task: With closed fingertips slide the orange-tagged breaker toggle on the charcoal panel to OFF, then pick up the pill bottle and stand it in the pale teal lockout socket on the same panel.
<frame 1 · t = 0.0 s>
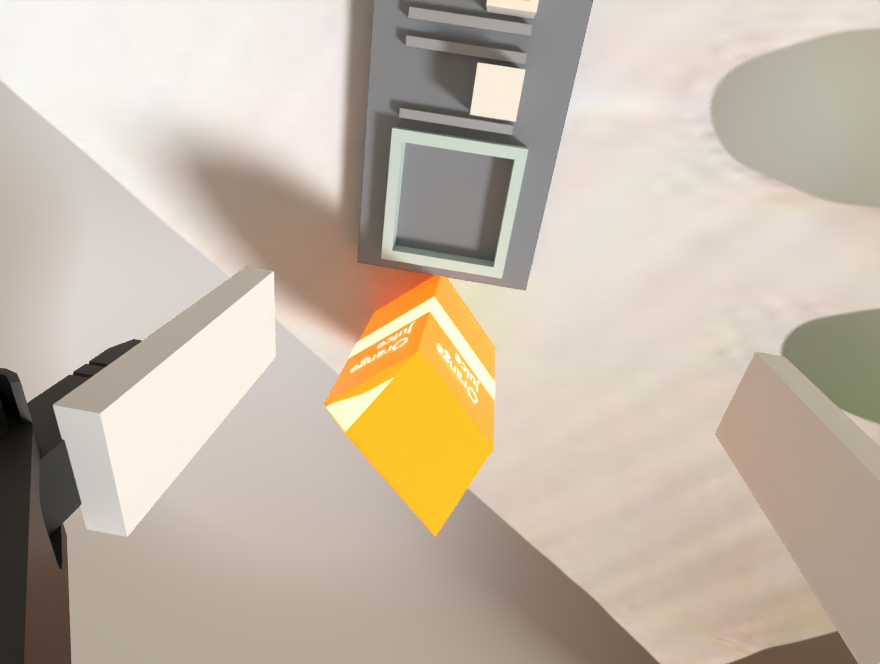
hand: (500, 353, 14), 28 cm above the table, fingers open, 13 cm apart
toggle plain: (497, 92, 33), point 4 cm above the table, slide at 0.0 cm
orange juice: (434, 328, 45), on the table
panel: (465, 117, 37), on the table
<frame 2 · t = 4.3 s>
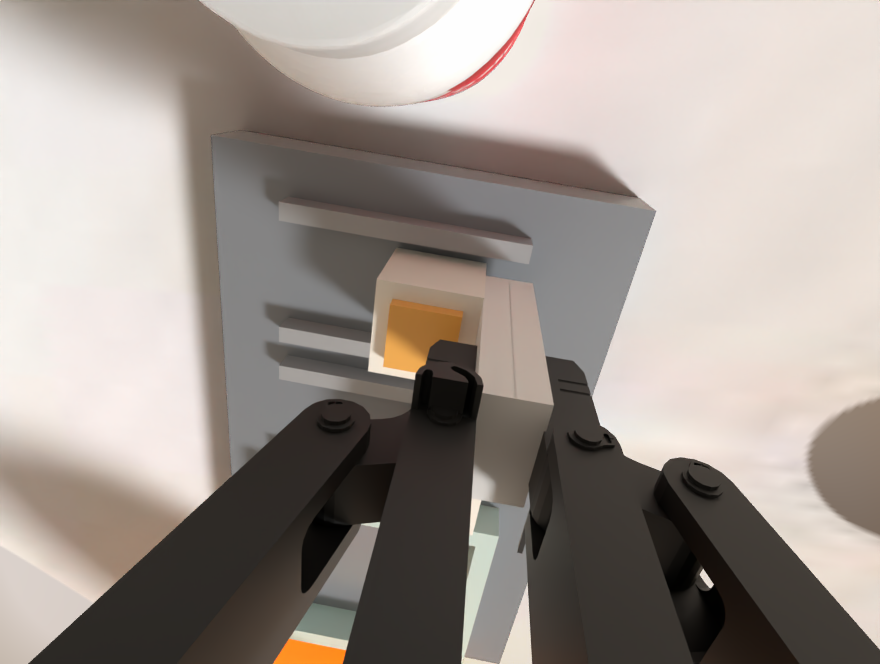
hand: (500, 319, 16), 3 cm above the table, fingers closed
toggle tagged: (428, 317, 15), point 4 cm above the table, slide at 1.3 cm, touching gripper
toggle plain: (441, 466, 18), point 4 cm above the table, slide at 0.0 cm
orange juice: (369, 659, 31), on the table
panel: (399, 436, 22), on the table
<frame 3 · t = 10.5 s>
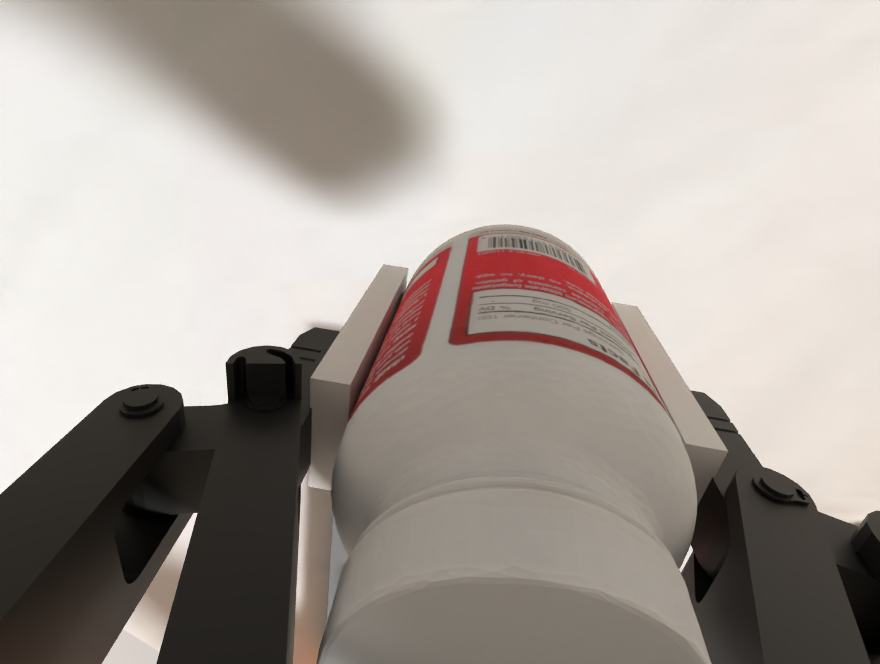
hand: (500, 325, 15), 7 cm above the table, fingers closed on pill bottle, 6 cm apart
pill bottle: (501, 313, 16), point 6 cm above the table, touching gripper
panel: (456, 550, 29), on the table
when the fingers open (4 cm above the table, at t = 16.0 s): pill bottle stays where it is, resting on panel.
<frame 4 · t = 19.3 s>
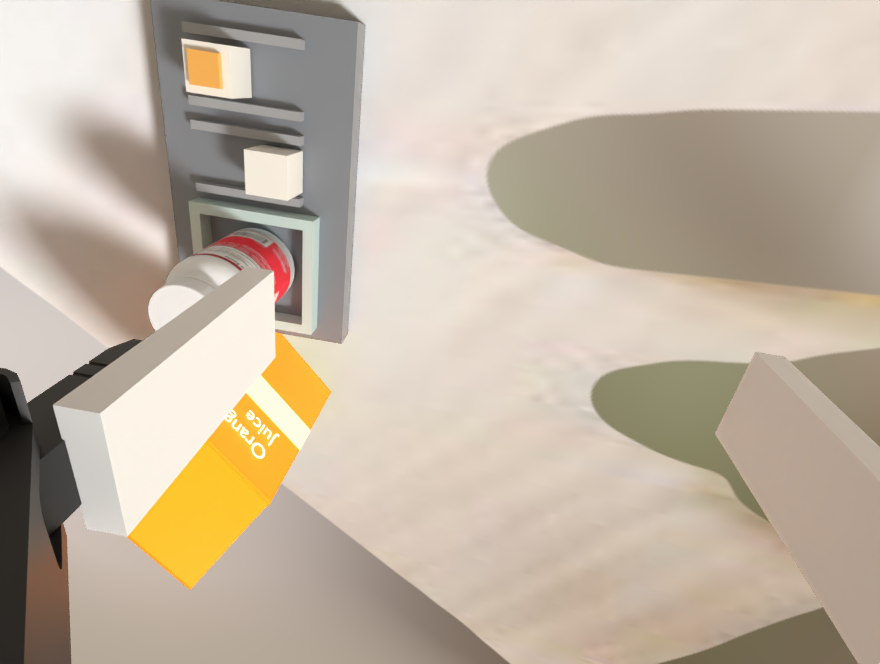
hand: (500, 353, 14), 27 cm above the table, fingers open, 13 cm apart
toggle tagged: (217, 69, 32), point 4 cm above the table, slide at 3.7 cm
pill bottle: (261, 262, 40), point 2 cm above the table, touching panel
toggle plain: (274, 172, 35), point 4 cm above the table, slide at 0.0 cm
orange juice: (274, 374, 48), on the table
panel: (269, 186, 39), on the table
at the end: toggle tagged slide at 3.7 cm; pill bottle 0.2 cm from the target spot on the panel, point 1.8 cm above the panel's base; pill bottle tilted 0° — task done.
